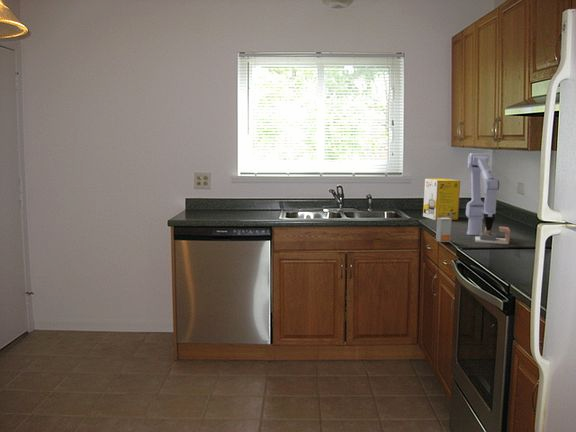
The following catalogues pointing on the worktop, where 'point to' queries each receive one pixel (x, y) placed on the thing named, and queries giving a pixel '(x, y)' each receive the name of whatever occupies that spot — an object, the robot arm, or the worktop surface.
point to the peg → (487, 232)
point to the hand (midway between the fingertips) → (488, 229)
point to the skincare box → (443, 229)
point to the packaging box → (441, 198)
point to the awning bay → (494, 237)
